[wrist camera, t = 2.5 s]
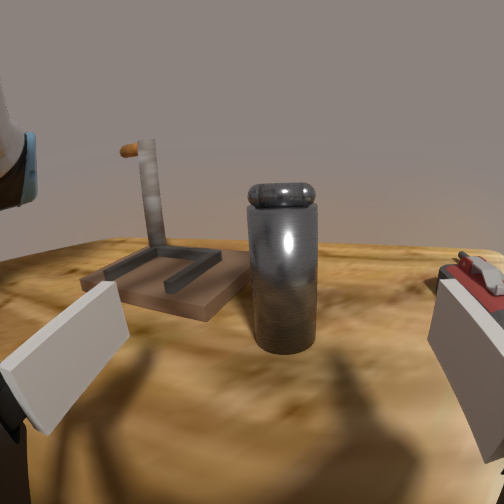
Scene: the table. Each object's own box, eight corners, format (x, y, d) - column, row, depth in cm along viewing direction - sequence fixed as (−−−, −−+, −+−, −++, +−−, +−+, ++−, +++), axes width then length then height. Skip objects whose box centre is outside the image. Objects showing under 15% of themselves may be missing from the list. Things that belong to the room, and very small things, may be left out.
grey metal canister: (251, 353, 21) (238, 189, 18) (259, 320, 26) (250, 180, 22) (316, 354, 21) (319, 186, 17) (314, 321, 25) (315, 178, 21)
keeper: (74, 288, 34) (50, 154, 29) (144, 252, 46) (130, 144, 41) (206, 321, 26) (184, 118, 21) (266, 264, 38) (258, 125, 33)
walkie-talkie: (553, 343, 16) (464, 263, 34) (569, 298, 14) (469, 231, 33) (487, 361, 17) (409, 265, 36) (504, 310, 15) (412, 231, 34)
